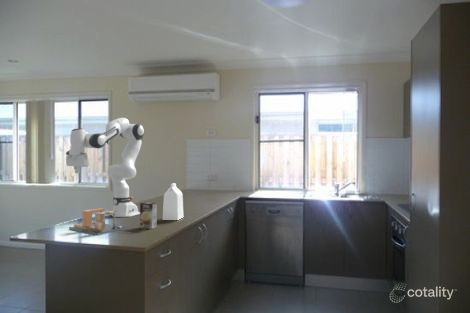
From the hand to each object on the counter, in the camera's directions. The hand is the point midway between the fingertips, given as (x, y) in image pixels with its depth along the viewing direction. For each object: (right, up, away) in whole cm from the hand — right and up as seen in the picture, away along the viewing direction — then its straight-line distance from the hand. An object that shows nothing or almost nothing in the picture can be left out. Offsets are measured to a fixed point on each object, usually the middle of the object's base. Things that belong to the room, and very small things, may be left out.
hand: (77, 173), depth 233 cm
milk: (+60, -35, +21) cm, 73 cm away
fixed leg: (+18, -33, -16) cm, 41 cm away
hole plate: (+19, -34, -14) cm, 42 cm away
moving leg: (+17, -32, -15) cm, 39 cm away
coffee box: (+49, -35, -8) cm, 61 cm away
